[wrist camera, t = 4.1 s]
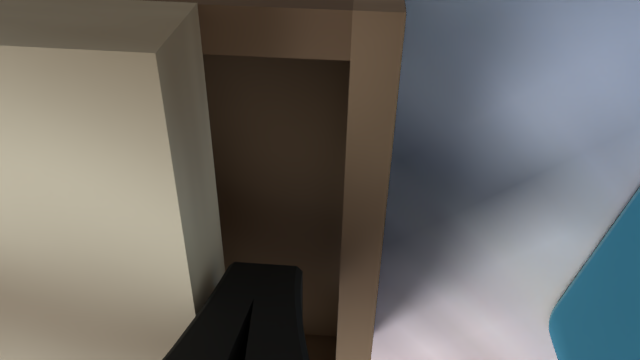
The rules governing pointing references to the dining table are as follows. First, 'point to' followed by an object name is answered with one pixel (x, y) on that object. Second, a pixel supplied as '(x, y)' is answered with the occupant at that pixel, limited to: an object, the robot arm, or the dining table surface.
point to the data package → (604, 298)
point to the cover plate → (103, 179)
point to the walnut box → (306, 148)
